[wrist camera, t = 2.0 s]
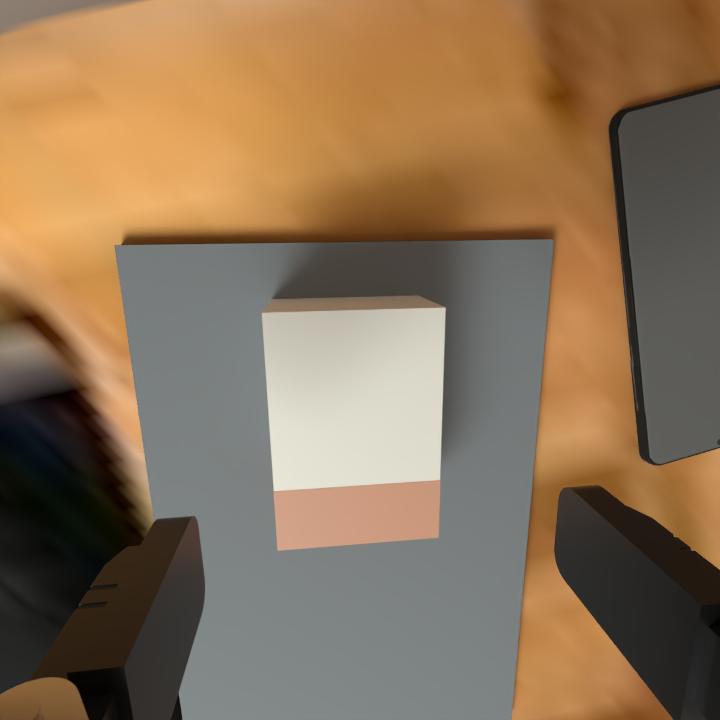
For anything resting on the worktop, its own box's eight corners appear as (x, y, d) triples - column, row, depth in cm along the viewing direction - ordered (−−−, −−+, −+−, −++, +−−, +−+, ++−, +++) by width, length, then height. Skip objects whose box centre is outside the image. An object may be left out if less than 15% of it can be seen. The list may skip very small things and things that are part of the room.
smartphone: (788, 65, 17) (791, 429, 20) (764, 75, 18) (771, 422, 21) (613, 110, 16) (648, 471, 20) (597, 118, 17) (634, 461, 21)
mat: (120, 245, 16) (114, 245, 16) (547, 239, 18) (554, 239, 17) (191, 752, 22) (189, 764, 21) (507, 713, 24) (511, 723, 23)
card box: (271, 299, 17) (261, 312, 13) (418, 295, 17) (446, 307, 14) (283, 493, 19) (277, 550, 15) (415, 484, 19) (438, 537, 16)
